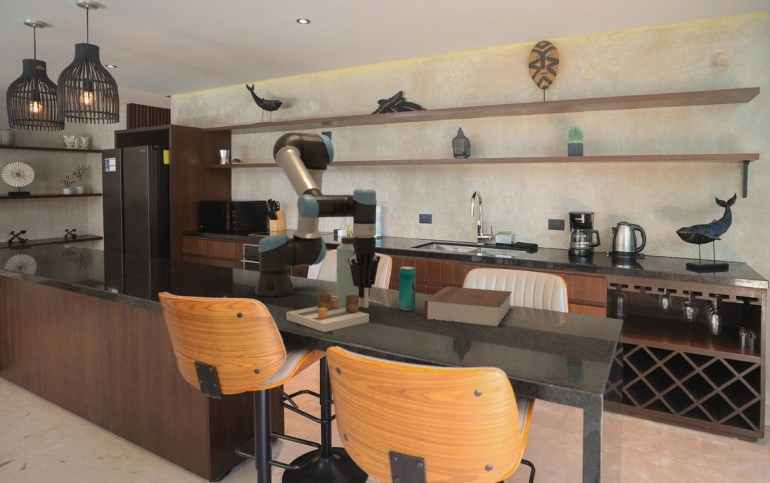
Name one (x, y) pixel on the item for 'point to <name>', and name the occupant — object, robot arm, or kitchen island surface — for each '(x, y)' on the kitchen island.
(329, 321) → the switch board
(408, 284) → the beverage can
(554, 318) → the kitchen island surface
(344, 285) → the water bottle
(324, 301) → the tab
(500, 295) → the book
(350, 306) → the tab
